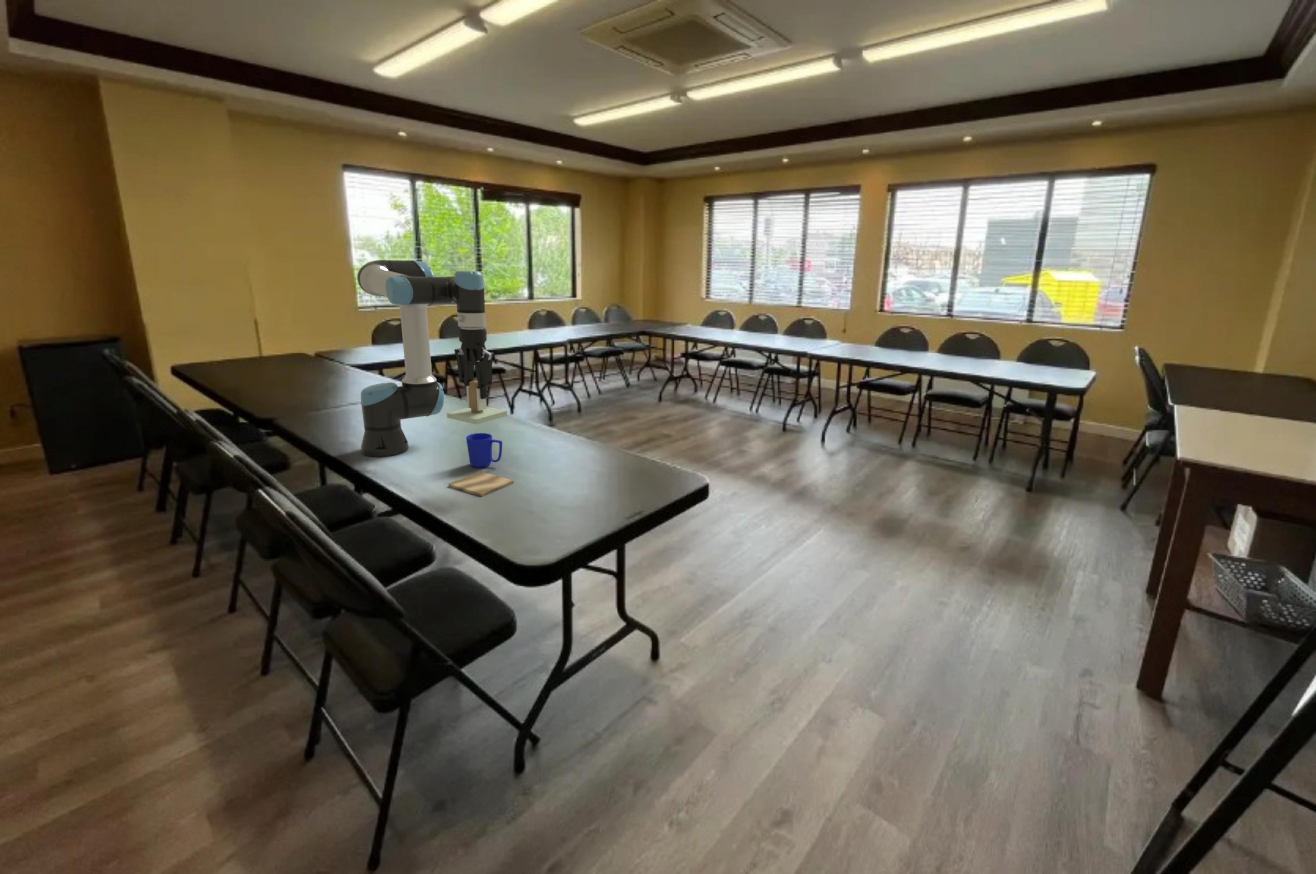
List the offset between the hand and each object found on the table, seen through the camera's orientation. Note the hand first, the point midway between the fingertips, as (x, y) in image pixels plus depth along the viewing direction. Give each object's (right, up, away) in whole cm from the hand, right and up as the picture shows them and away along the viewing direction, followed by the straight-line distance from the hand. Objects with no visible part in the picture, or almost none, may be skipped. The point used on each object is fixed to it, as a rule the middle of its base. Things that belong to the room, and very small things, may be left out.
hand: (477, 408), depth 168 cm
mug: (-4, -18, +23) cm, 30 cm away
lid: (0, -3, +1) cm, 3 cm away
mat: (-1, -23, +7) cm, 24 cm away
